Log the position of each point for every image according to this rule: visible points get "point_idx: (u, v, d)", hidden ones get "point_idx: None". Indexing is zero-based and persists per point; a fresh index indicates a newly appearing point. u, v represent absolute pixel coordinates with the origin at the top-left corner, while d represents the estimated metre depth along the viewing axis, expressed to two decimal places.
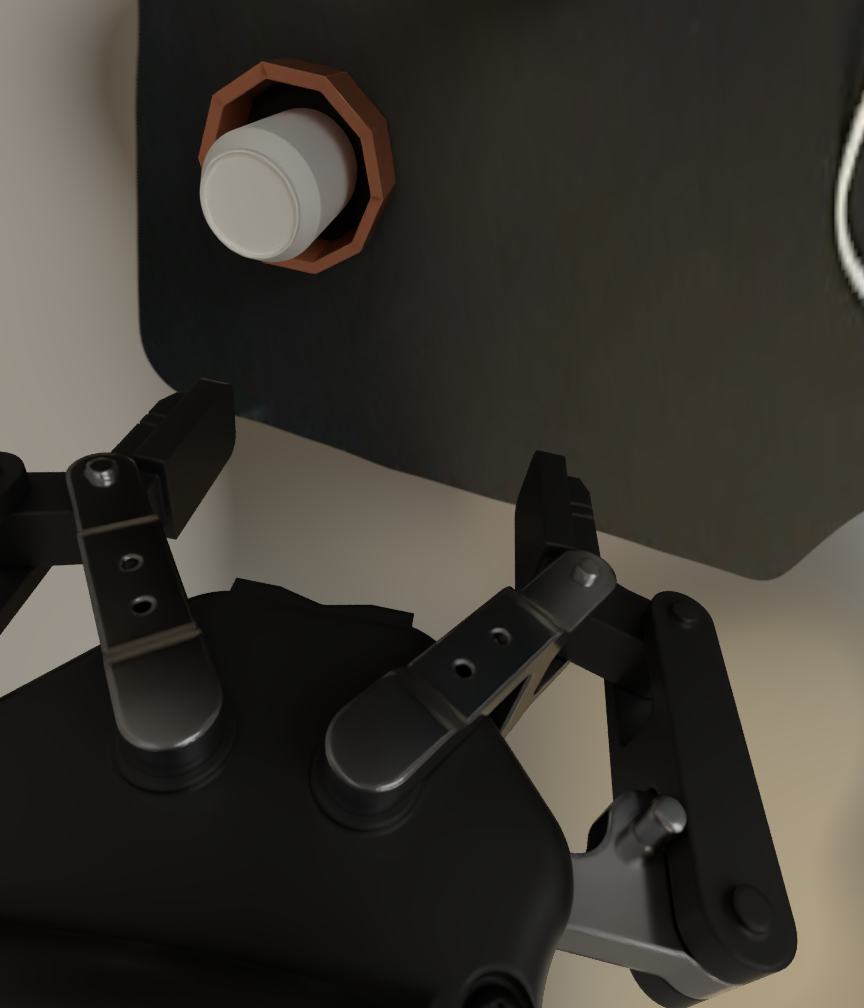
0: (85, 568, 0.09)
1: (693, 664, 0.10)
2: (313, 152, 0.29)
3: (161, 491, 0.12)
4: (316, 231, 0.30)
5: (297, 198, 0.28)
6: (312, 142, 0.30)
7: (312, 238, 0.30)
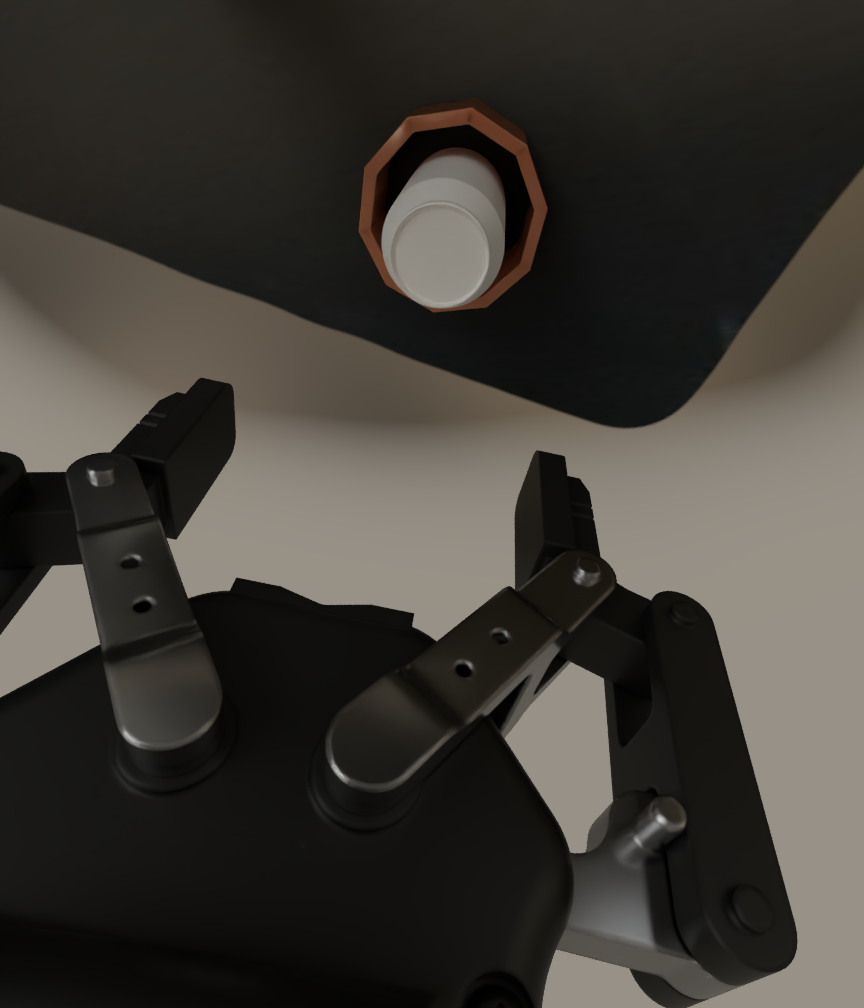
0: (85, 568, 0.09)
1: (693, 664, 0.10)
2: (409, 183, 0.29)
3: (161, 491, 0.12)
4: (474, 188, 0.27)
5: (430, 201, 0.26)
6: (406, 185, 0.30)
7: (480, 194, 0.27)
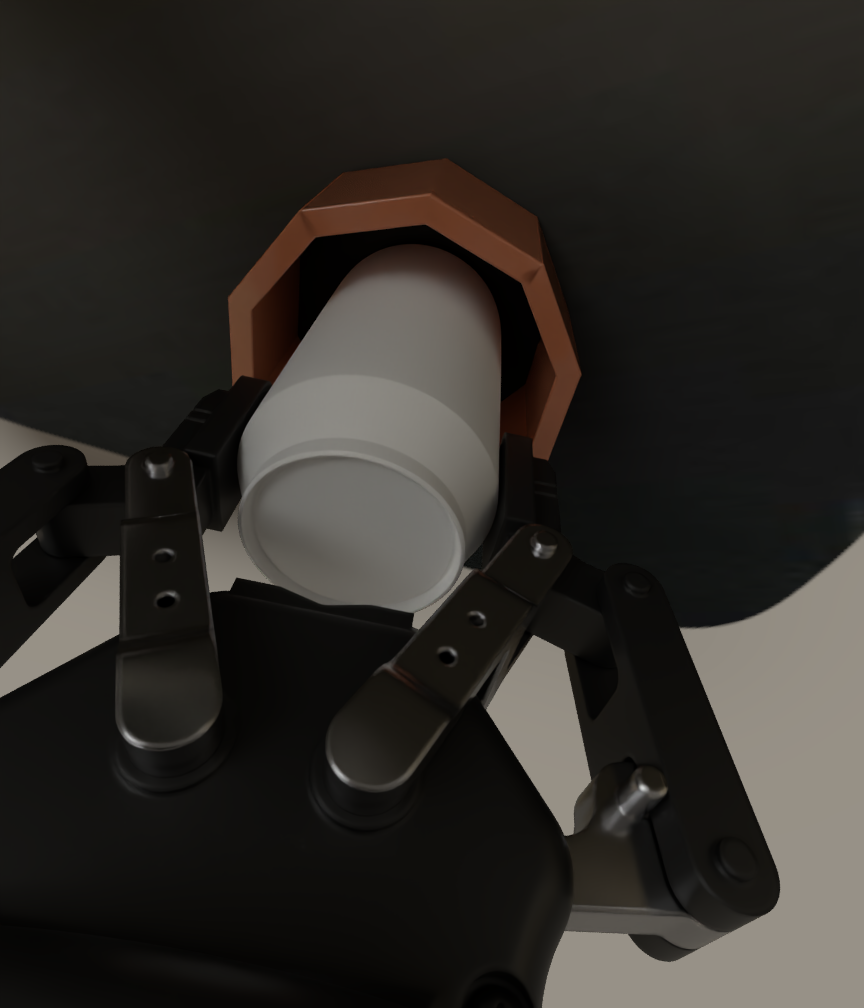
0: (121, 556, 0.09)
1: (651, 632, 0.10)
2: (296, 359, 0.14)
3: (210, 484, 0.12)
4: (427, 395, 0.12)
5: (320, 444, 0.11)
6: (296, 351, 0.14)
7: (442, 409, 0.12)
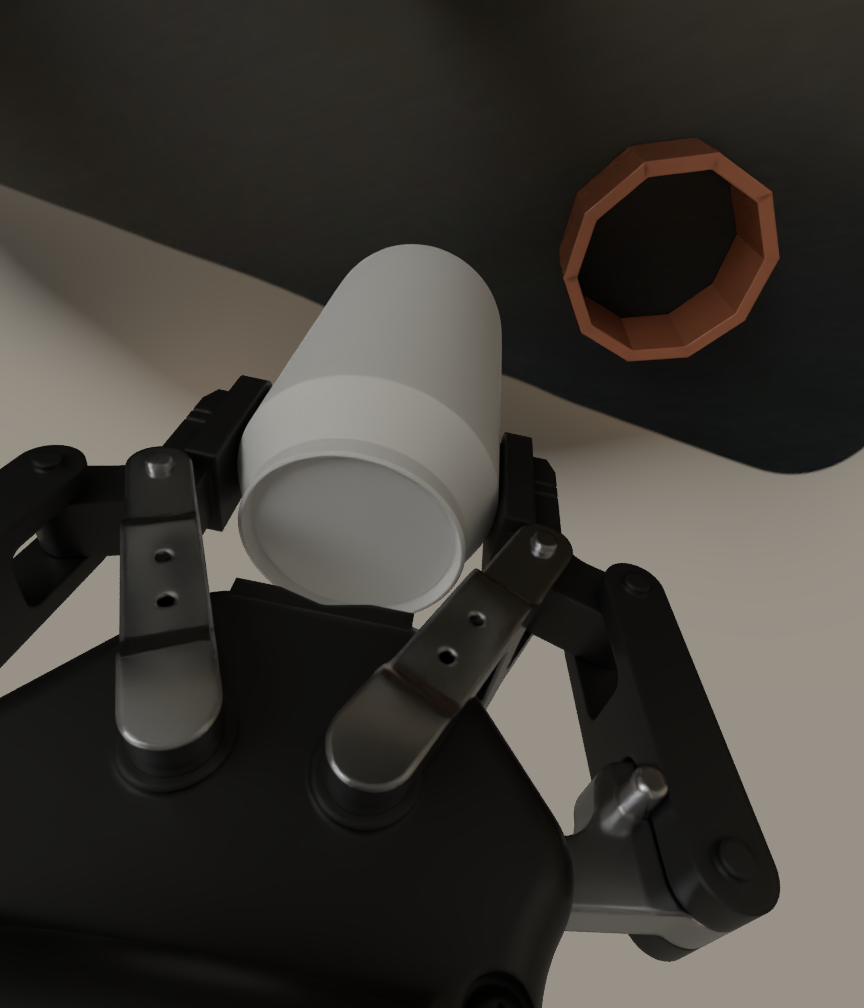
0: (121, 556, 0.09)
1: (651, 632, 0.10)
2: (296, 359, 0.14)
3: (211, 484, 0.12)
4: (427, 396, 0.12)
5: (321, 444, 0.11)
6: (296, 351, 0.14)
7: (443, 409, 0.12)
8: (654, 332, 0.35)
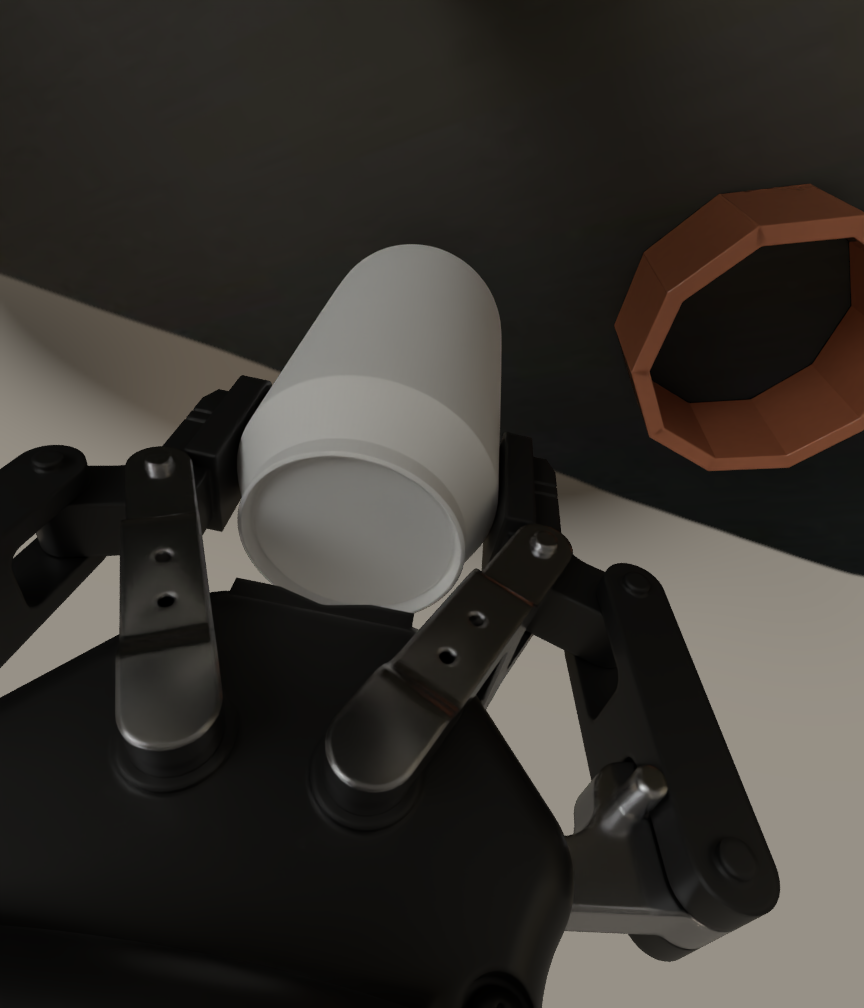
0: (121, 557, 0.09)
1: (651, 632, 0.10)
2: (296, 359, 0.14)
3: (211, 484, 0.12)
4: (427, 396, 0.12)
5: (321, 444, 0.11)
6: (296, 351, 0.14)
7: (442, 409, 0.12)
8: (739, 429, 0.27)
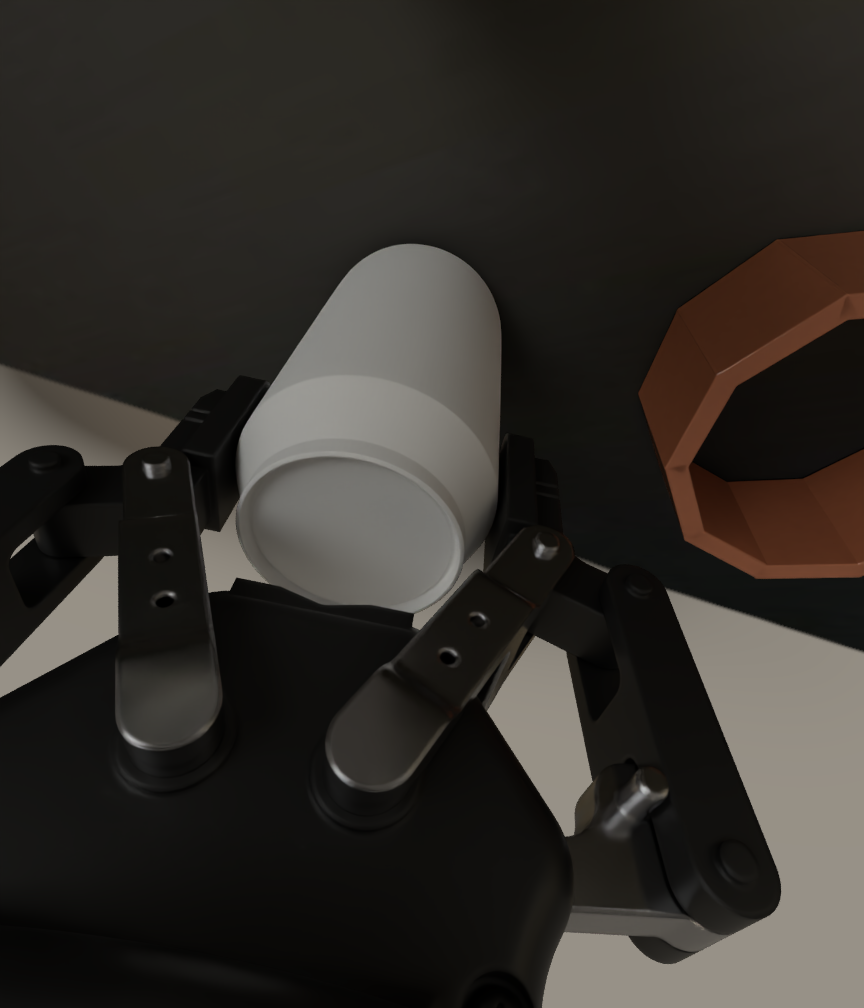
0: (119, 557, 0.09)
1: (653, 633, 0.10)
2: (294, 359, 0.13)
3: (208, 484, 0.12)
4: (426, 396, 0.12)
5: (318, 444, 0.11)
6: (295, 351, 0.14)
7: (441, 409, 0.12)
8: (792, 522, 0.22)
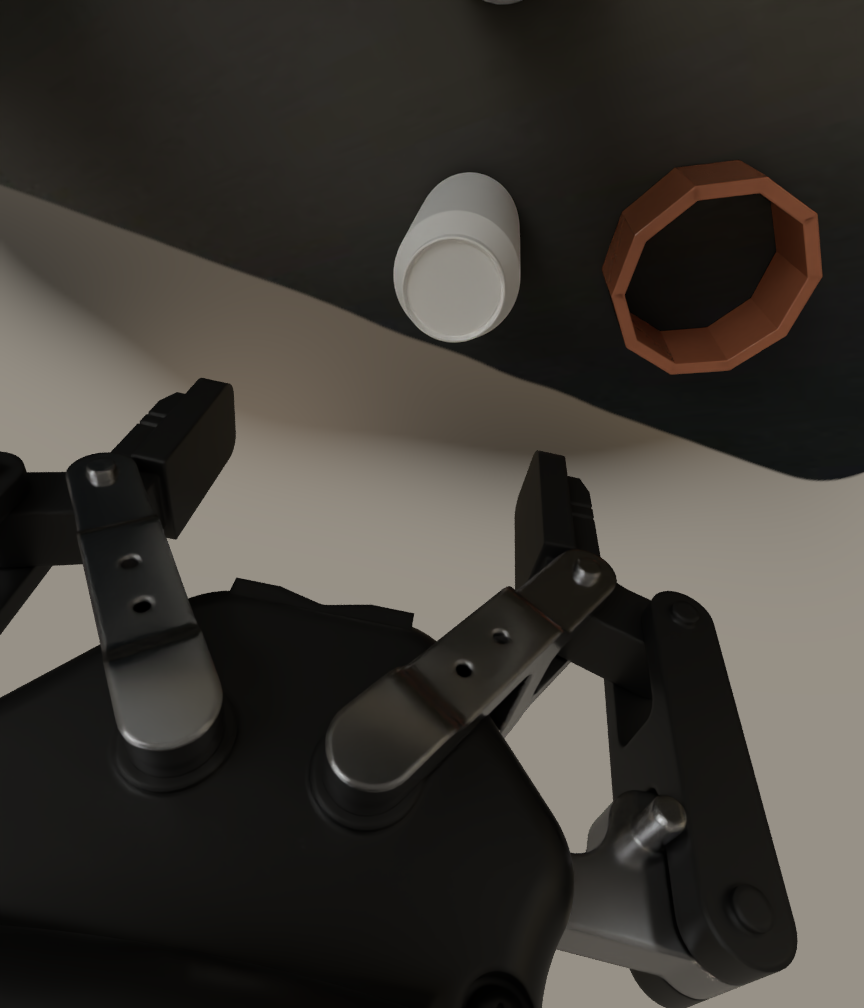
0: (85, 568, 0.09)
1: (693, 664, 0.10)
2: (422, 214, 0.28)
3: (161, 491, 0.12)
4: (489, 220, 0.26)
5: (445, 235, 0.25)
6: (418, 215, 0.29)
7: (496, 226, 0.26)
8: (695, 346, 0.36)
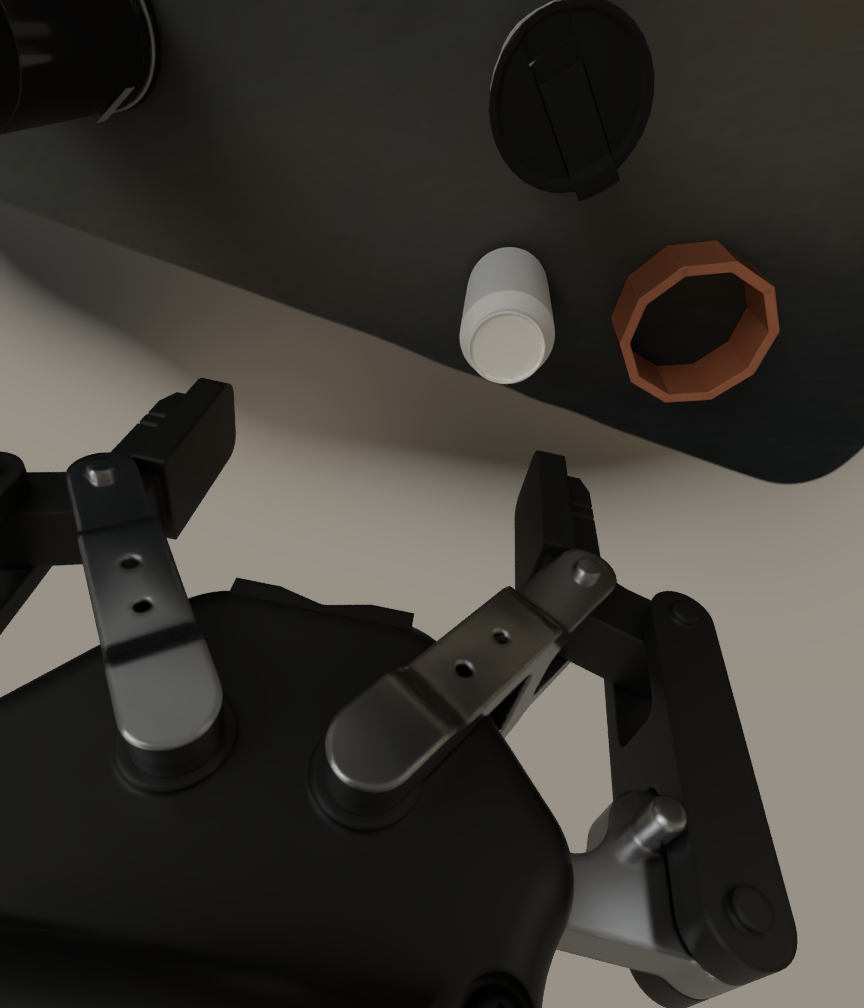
0: (85, 568, 0.09)
1: (693, 664, 0.10)
2: (481, 288, 0.38)
3: (161, 491, 0.12)
4: (533, 297, 0.36)
5: (503, 310, 0.35)
6: (477, 287, 0.39)
7: (538, 301, 0.36)
8: (684, 379, 0.46)
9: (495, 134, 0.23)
